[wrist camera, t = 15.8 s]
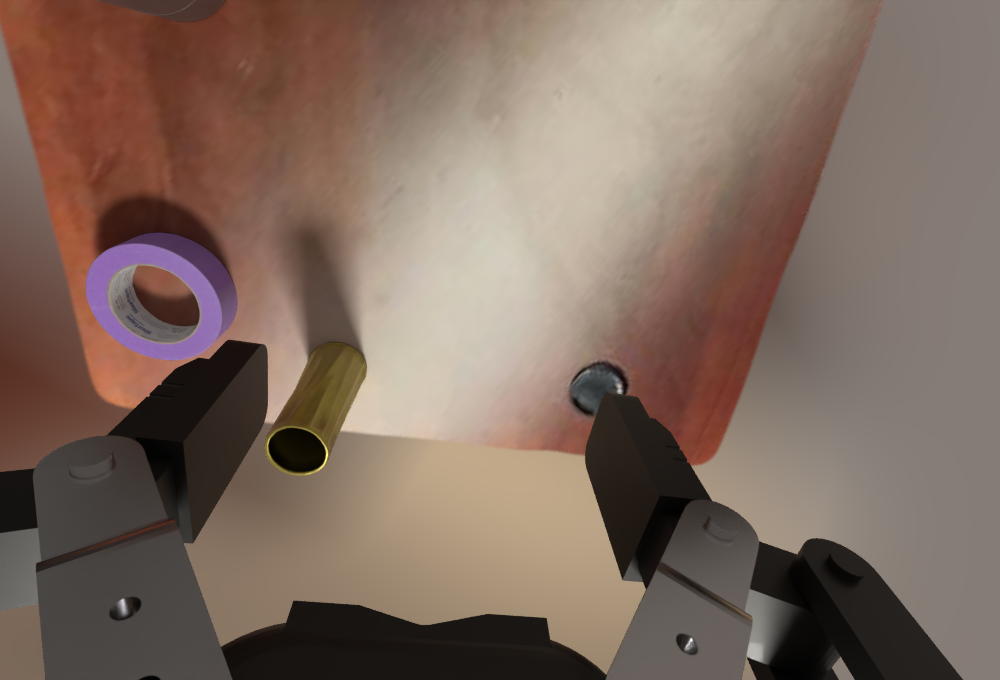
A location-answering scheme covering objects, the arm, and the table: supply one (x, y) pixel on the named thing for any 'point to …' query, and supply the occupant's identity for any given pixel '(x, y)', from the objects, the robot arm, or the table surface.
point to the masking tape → (133, 322)
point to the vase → (316, 410)
